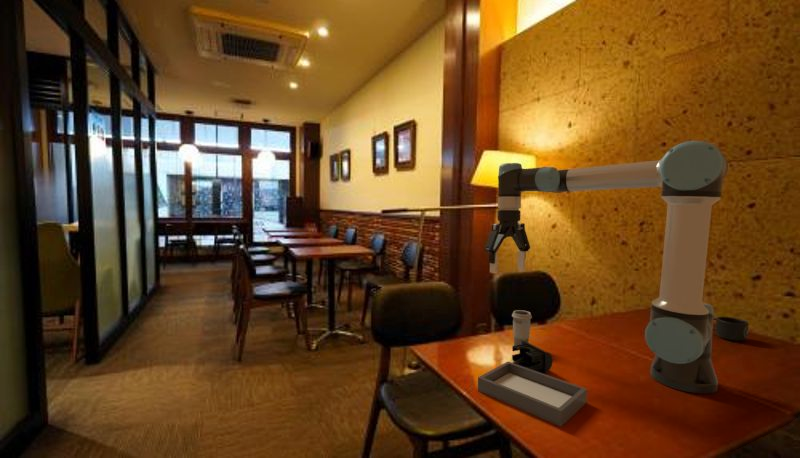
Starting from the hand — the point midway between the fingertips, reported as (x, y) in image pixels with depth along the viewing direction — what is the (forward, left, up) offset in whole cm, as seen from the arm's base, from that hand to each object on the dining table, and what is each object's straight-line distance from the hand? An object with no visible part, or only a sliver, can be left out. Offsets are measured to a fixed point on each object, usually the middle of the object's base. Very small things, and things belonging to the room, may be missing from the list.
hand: (507, 271), depth 128 cm
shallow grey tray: (-22, +26, -26) cm, 43 cm away
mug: (-51, -70, -27) cm, 91 cm away
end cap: (-14, +10, -27) cm, 32 cm away
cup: (-3, -4, -27) cm, 27 cm away
